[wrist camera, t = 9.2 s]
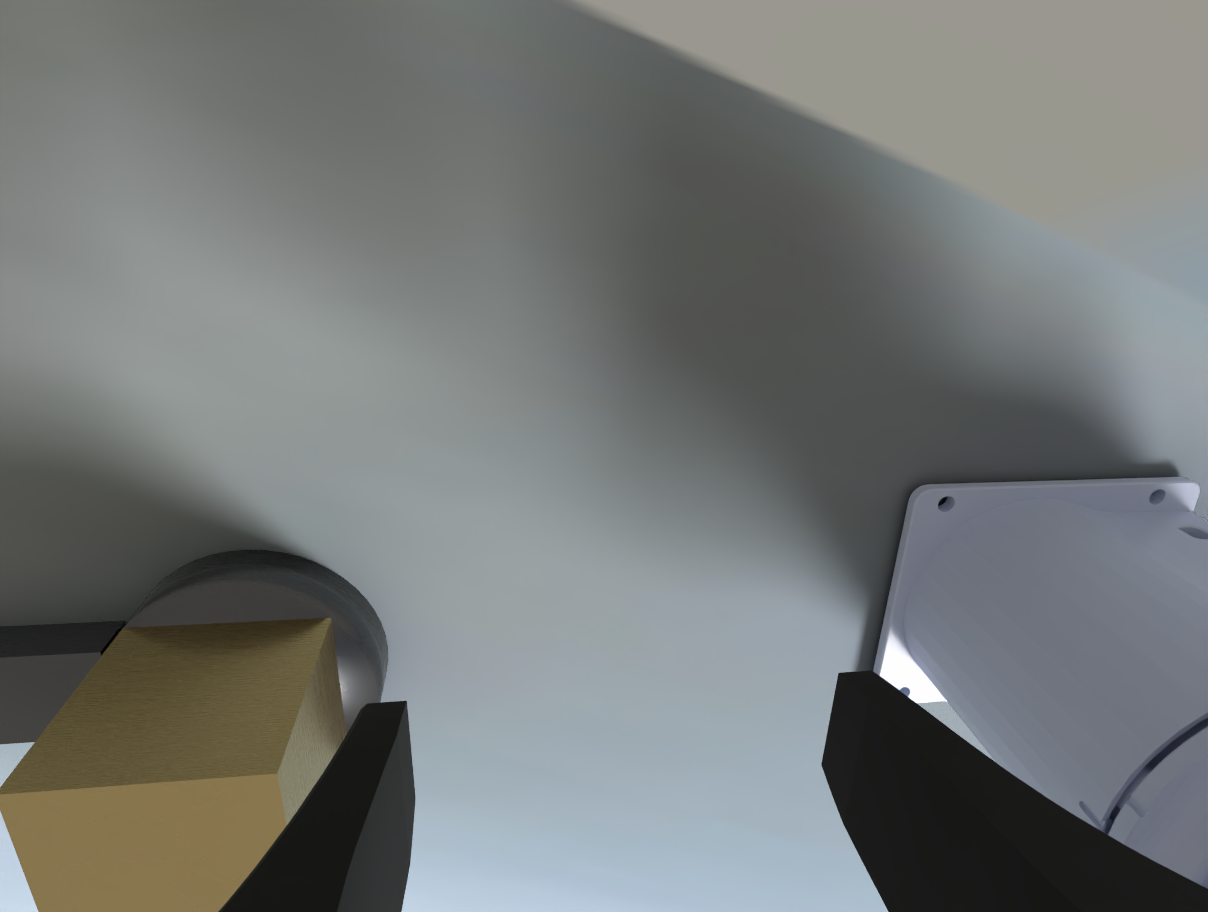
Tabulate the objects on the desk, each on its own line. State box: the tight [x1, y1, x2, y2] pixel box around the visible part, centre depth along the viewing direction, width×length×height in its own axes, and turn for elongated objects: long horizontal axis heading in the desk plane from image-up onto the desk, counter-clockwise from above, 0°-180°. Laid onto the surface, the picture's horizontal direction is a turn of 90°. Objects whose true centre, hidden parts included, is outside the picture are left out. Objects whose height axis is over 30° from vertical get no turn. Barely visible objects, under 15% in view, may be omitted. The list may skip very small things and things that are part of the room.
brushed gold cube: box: [0, 618, 347, 912], centre depth 17 cm, size 5×5×5 cm
